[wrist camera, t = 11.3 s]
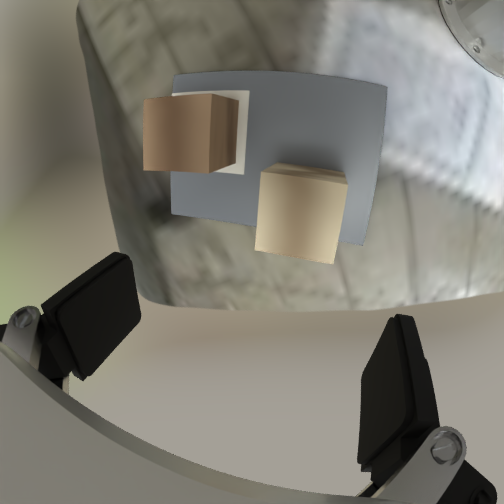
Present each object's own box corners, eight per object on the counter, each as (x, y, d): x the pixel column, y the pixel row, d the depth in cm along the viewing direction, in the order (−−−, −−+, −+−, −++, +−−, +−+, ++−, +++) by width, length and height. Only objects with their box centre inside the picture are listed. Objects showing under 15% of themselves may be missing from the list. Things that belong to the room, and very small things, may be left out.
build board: (385, 87, 18) (387, 86, 18) (362, 243, 25) (363, 246, 25) (176, 76, 23) (173, 75, 22) (174, 212, 29) (171, 214, 29)
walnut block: (239, 100, 22) (211, 93, 17) (235, 163, 25) (208, 173, 19) (180, 102, 23) (143, 99, 18) (179, 160, 26) (143, 170, 21)
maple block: (344, 172, 22) (348, 184, 17) (333, 235, 25) (333, 264, 20) (277, 162, 24) (260, 171, 18) (271, 224, 26) (254, 250, 21)
